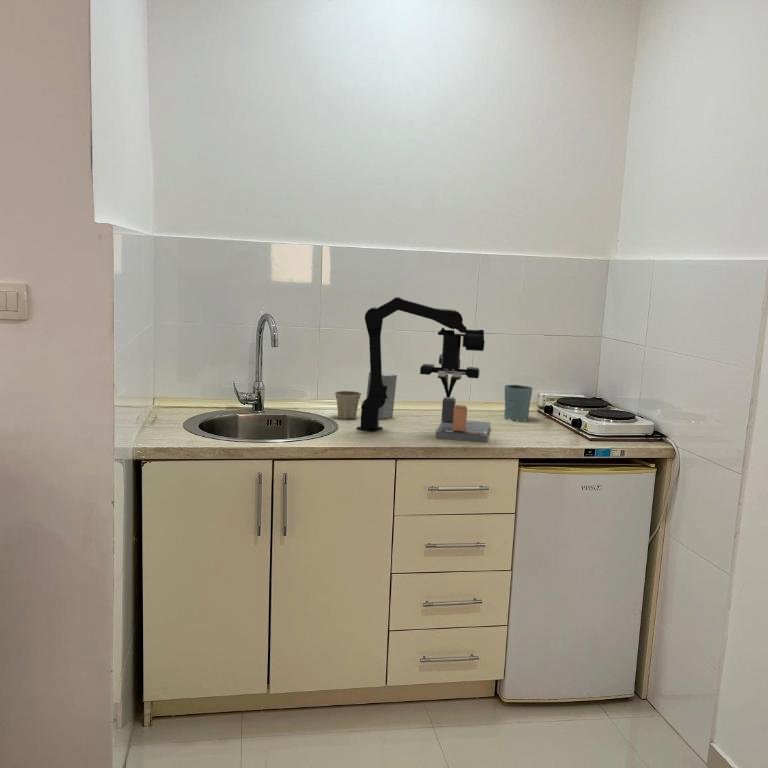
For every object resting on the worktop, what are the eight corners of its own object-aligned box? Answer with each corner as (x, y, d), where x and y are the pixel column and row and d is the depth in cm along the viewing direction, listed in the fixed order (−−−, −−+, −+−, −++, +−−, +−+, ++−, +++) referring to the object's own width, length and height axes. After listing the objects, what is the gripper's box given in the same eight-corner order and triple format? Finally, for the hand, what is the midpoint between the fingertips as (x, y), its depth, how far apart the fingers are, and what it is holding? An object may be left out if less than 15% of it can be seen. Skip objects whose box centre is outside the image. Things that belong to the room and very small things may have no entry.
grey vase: (364, 415, 272) (366, 371, 269) (377, 413, 277) (379, 370, 275) (382, 420, 266) (384, 375, 264) (395, 417, 272) (397, 373, 269)
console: (434, 437, 243) (434, 430, 243) (441, 424, 264) (441, 417, 264) (486, 442, 240) (486, 435, 240) (489, 428, 262) (490, 421, 261)
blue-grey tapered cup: (508, 421, 274) (510, 388, 272) (497, 416, 283) (500, 384, 282) (534, 421, 276) (537, 389, 274) (523, 416, 286) (525, 384, 284)
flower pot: (336, 413, 273) (337, 389, 272) (362, 415, 272) (363, 391, 271) (331, 418, 264) (331, 394, 263) (357, 421, 263) (359, 396, 261)
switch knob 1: (441, 420, 258) (442, 398, 257) (442, 418, 262) (444, 396, 261) (453, 421, 257) (454, 399, 256) (454, 419, 261) (455, 397, 260)
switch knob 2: (452, 430, 244) (453, 406, 242) (453, 427, 247) (455, 404, 246) (464, 431, 243) (466, 407, 242) (465, 428, 247) (467, 405, 246)
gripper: (481, 348, 252) (478, 395, 254) (425, 345, 255) (423, 391, 258) (479, 352, 241) (476, 401, 244) (421, 348, 244) (418, 396, 247)
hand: (448, 397), depth 248 cm, fingers closed
